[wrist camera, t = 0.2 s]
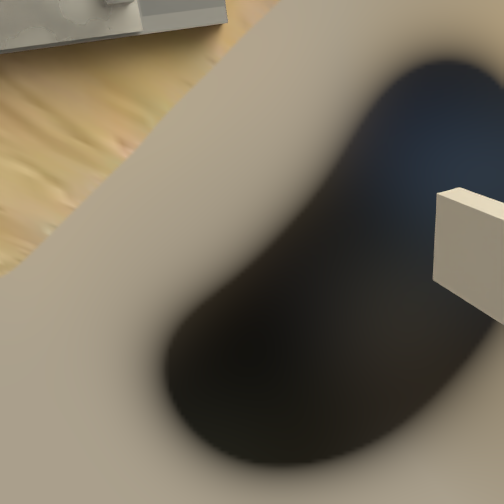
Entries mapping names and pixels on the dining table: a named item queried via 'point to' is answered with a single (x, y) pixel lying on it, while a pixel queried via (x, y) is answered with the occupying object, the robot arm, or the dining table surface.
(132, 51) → the dining table surface
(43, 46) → the holder
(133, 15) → the lid
